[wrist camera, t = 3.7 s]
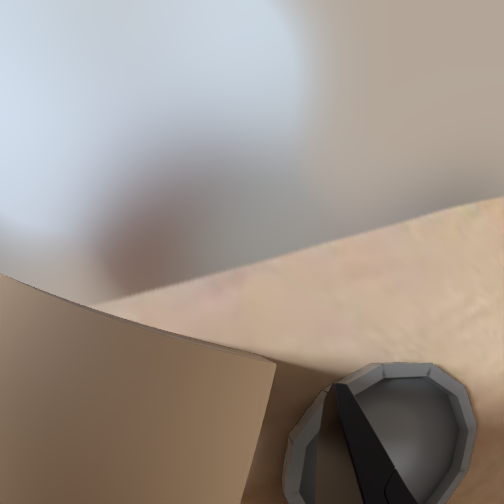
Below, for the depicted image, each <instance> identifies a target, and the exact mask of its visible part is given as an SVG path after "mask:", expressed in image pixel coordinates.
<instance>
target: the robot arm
mask: <svg viewBox="0 0 504 504" xmlns="http://www.w3.org/2000/svg"><path fill="white" fill-rule="evenodd" d="M315 504H419V503H418V502H417V501H416V499H415V498H414V496H413V495H412V493H411V492H410V491H409V489H408V488H407V486H406V484H405V483H404V481H403V479H402V478H401V476H400V474H399V472H398V471H397V469H395V466H394V464H393V462H392V460H391V459H390V457H389V455H388V453H387V452H386V450H385V448H384V446H383V445H382V443H381V441H380V439H379V438H378V436H377V434H376V433H375V431H374V429H373V427H372V426H371V424H370V422H369V421H368V419H367V417H366V415H365V414H364V412H363V410H362V408H361V407H360V405H359V403H358V402H357V400H356V398H355V397H354V395H353V393H352V391H351V390H350V388H349V386H348V385H347V384H346V383H341V382H334V383H333V384H332V385H331V387H330V389H329V391H328V393H327V394H326V396H325V399H324V402H323V410H322V417H321V424H320V431H319V438H318V447H317V475H316V496H315Z"/></svg>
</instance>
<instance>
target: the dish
mask: <svg viewBox="0 0 504 504" xmlns="http://www.w3.org/2000/svg"><path fill="white" fill-rule="evenodd" d="M337 382H341V383H346V384H347V385H348V386H349V388H350V390H351V391H352V393H353V395H354V397H355V398H356V400H357V402H358V403H359V405H360V407H361V408H362V410H363V412H364V414H365V415H366V417H367V419H368V421H369V422H370V424H371V426H372V427H373V429H374V431H375V433H376V434H377V436H378V438H379V439H380V441H381V443H382V445H383V446H384V448H385V450H386V452H387V453H388V455H389V457H390V459H391V460H392V462H393V464H394V466H395V469H397V471H398V472H399V474H400V476H401V478H402V479H403V481H404V483H405V484H406V486H407V488H408V489H409V491H410V492H411V493H412V495H413V496H414V498H415V499H416V501H417V502H418V503H419V504H445V503H446V502H447V500H448V499H449V498H450V496H451V495H452V494H453V492H454V491H455V489H456V488H457V487H458V485H459V484H460V482H461V481H462V479H463V478H464V476H465V475H466V473H467V472H466V471H468V468H469V464H470V460H471V455H472V451H473V446H474V441H475V436H476V430H477V427H476V426H477V424H476V420H475V417H474V414H473V410H472V407H471V404H470V401H469V397H468V394H467V391H466V388H465V386H463V385H462V384H461V383H459V382H458V381H456V380H455V379H454V378H452V377H451V376H449V375H448V374H447V373H445V372H444V371H442V370H441V369H440V368H438V367H437V366H435V365H434V364H433V363H402V362H392V363H370V364H369V365H367V366H365V367H363V368H362V369H360V370H358V371H356V372H354V373H351V374H349V375H347V376H345V377H344V378H342V379H341V380H339V381H337ZM330 387H331V385H330V386H328V387H326V388H324V389H323V391H321V392H320V393H319V395H318V396H317V398H316V399H315V400H314V402H313V403H312V404H311V405H310V406H309V407H308V409H307V410H306V411H305V412H304V414H303V415H302V417H301V418H300V420H299V421H298V423H297V424H296V425H295V427H294V428H293V429H292V431H291V432H290V433H289V435H288V440H287V447H286V452H285V456H284V463H283V474H282V481H281V484H282V488H283V492H284V496H285V497H286V499H287V501H288V503H289V504H315V496H316V475H317V447H318V438H319V431H320V424H321V417H322V410H323V402H324V399H325V396H326V394H327V393H328V391H329V389H330Z"/></svg>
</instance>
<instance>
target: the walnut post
mask: <svg viewBox="0 0 504 504" xmlns="http://www.w3.org/2000/svg"><path fill="white" fill-rule="evenodd" d="M276 366H277V364H276V363H274V362H272V361H270V360H268V359H266V358H264V357H262V356H260V355H258V354H255V353H250V352H246V351H242V350H237V349H233V348H229V347H225V346H221V345H217V344H213V343H209V342H205V341H202V340H198V339H194V338H191V337H187V336H183V335H180V334H176V333H172V332H168V331H165V330H161V329H157V328H154V327H150V326H147V325H143V324H140V323H137V322H133V321H130V320H127V319H123V318H120V317H117V316H114V315H111V314H107V313H104V312H101V311H98V310H95V309H92V308H89V307H86V306H83V305H80V304H78V303H74V302H72V301H69V300H66V299H64V298H61V297H58V296H55V295H53V294H50V293H47V292H45V291H42V290H39V289H37V288H34V287H32V286H29V285H27V284H24V283H22V282H20V281H17V280H15V279H12V278H10V277H7V276H5V275H3V274H0V504H240V502H241V498H242V495H243V492H244V488H245V485H246V481H247V478H248V474H249V471H250V467H251V464H252V460H253V457H254V453H255V449H256V446H257V442H258V438H259V434H260V431H261V427H262V423H263V419H264V415H265V411H266V407H267V403H268V399H269V395H270V391H271V387H272V383H273V379H274V375H275V370H276Z"/></svg>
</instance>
